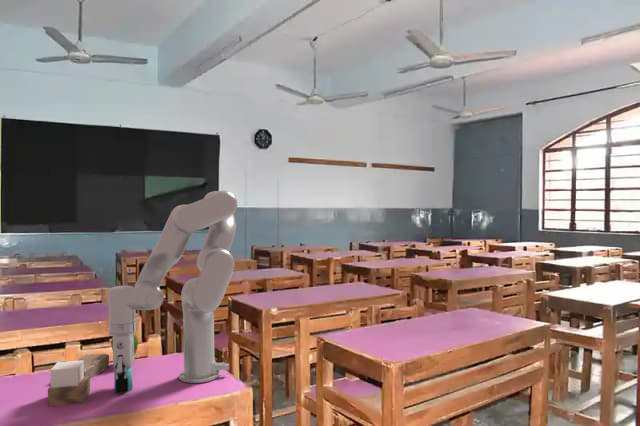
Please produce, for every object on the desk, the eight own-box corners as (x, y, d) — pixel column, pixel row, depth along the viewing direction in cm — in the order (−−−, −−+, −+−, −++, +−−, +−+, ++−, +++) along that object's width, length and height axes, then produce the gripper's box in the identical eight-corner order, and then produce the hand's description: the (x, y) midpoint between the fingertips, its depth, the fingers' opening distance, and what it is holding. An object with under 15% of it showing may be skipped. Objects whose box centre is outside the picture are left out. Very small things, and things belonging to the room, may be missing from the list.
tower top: (83, 377, 148) (83, 360, 148) (78, 385, 142) (77, 367, 141) (57, 379, 147) (57, 362, 147) (50, 387, 140) (50, 370, 140)
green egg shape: (143, 362, 177) (142, 329, 177) (127, 369, 169) (126, 335, 169) (122, 359, 180) (122, 327, 179) (106, 367, 171) (105, 333, 171)
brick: (83, 384, 156) (83, 369, 156) (57, 384, 157) (57, 368, 157) (110, 367, 173) (110, 353, 173) (86, 366, 173) (86, 353, 173)
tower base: (90, 392, 150) (89, 375, 150) (83, 404, 141) (83, 386, 141) (57, 395, 148) (56, 378, 148) (48, 407, 139) (47, 389, 139)
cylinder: (133, 386, 154) (133, 366, 153) (131, 392, 149) (131, 372, 149) (116, 387, 152) (115, 368, 152) (113, 394, 148) (112, 373, 147)
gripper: (132, 334, 143) (133, 398, 143) (139, 320, 159) (140, 377, 160) (103, 336, 141) (104, 400, 141) (113, 322, 158) (114, 379, 158)
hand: (123, 387), depth 151 cm, fingers closed on cylinder, 4 cm apart
